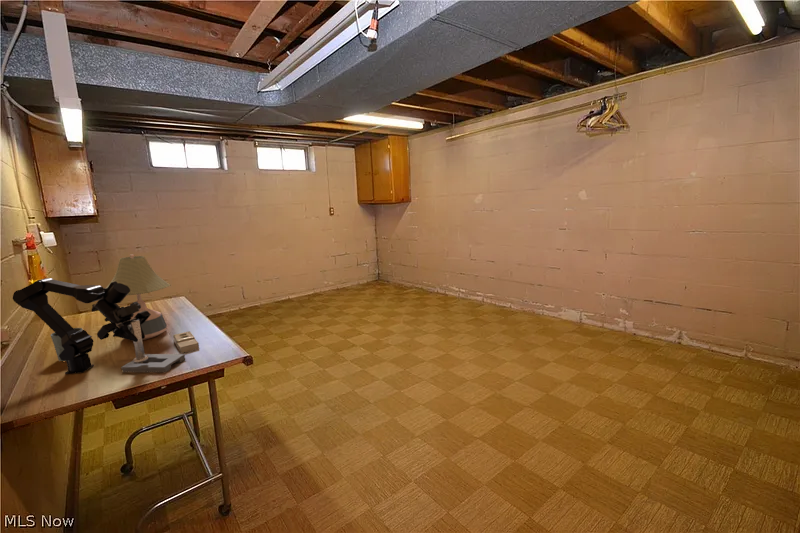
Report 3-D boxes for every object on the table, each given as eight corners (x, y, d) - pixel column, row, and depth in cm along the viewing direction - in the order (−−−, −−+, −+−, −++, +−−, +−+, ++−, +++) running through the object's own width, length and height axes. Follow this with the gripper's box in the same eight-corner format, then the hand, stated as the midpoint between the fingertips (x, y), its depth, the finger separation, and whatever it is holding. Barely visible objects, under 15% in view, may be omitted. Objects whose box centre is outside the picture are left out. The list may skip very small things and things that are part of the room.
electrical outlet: (179, 345, 155) (172, 334, 169) (181, 354, 156) (174, 342, 170) (198, 340, 160) (189, 330, 173) (199, 349, 161) (191, 338, 174)
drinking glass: (54, 364, 149) (48, 337, 146) (58, 356, 157) (53, 331, 154) (86, 358, 154) (80, 331, 152) (88, 350, 162) (83, 325, 160)
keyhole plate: (121, 372, 139) (120, 367, 139) (145, 359, 151) (144, 354, 151) (165, 372, 138) (164, 367, 138) (185, 359, 150) (184, 354, 149)
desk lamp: (124, 350, 161) (107, 260, 153) (105, 338, 178) (89, 256, 170) (185, 333, 181) (173, 253, 173) (163, 323, 198) (151, 249, 190)
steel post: (130, 362, 137) (123, 323, 134) (138, 357, 142) (132, 319, 139) (143, 362, 137) (136, 323, 134) (151, 357, 142) (145, 319, 139)
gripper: (98, 304, 127) (129, 335, 127) (143, 291, 145) (170, 318, 145) (83, 324, 129) (114, 354, 129) (129, 309, 147) (156, 335, 148)
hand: (140, 339), depth 138 cm, fingers closed on steel post, 3 cm apart
